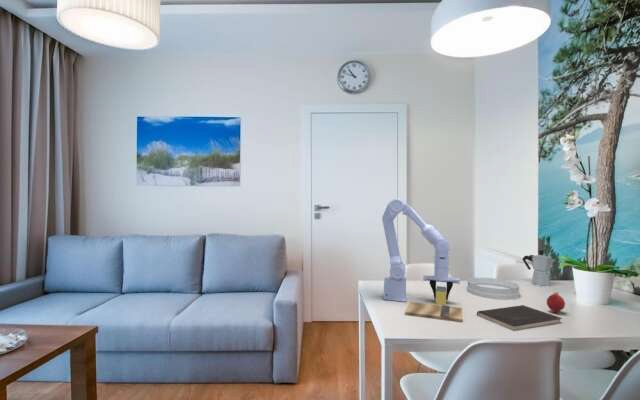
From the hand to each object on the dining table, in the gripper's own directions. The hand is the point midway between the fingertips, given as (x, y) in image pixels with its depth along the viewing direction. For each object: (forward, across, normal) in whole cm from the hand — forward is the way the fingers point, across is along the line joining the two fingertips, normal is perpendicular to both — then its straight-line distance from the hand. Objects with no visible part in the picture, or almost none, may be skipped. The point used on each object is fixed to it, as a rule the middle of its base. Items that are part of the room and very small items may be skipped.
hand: (441, 299), depth 144 cm
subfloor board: (+1, +2, +15) cm, 15 cm away
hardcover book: (+2, -27, +10) cm, 29 cm away
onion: (+2, -42, -4) cm, 42 cm away
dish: (+2, -22, -26) cm, 34 cm away
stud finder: (+1, 0, 0) cm, 1 cm away
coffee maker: (+2, -46, -54) cm, 71 cm away
